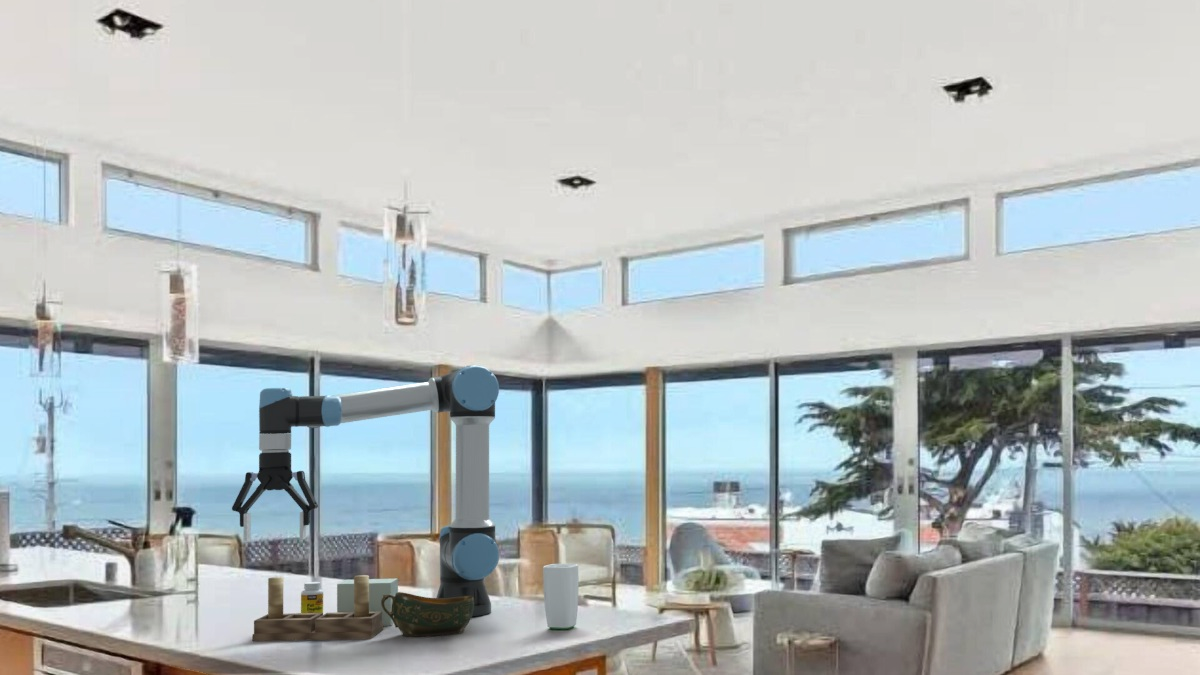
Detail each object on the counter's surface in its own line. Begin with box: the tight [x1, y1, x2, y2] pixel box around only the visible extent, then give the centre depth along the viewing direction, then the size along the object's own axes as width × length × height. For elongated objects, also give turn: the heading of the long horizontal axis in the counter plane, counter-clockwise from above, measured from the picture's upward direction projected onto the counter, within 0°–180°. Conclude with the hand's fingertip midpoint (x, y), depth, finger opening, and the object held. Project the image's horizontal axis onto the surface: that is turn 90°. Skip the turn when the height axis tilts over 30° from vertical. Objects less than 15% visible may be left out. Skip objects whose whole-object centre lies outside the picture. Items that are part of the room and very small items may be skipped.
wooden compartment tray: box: [252, 574, 384, 642], centre depth 259 cm, size 28×12×14 cm, turn 89°
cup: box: [542, 563, 579, 630], centre depth 261 cm, size 7×7×15 cm
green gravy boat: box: [381, 591, 474, 638], centre depth 258 cm, size 13×20×10 cm, turn 78°
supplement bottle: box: [300, 581, 324, 614], centre depth 277 cm, size 6×6×10 cm
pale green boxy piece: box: [336, 578, 399, 627], centre depth 275 cm, size 14×9×10 cm, turn 89°
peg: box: [267, 576, 284, 619], centre depth 260 cm, size 4×4×12 cm
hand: (274, 540), depth 261 cm, fingers open, 13 cm apart
